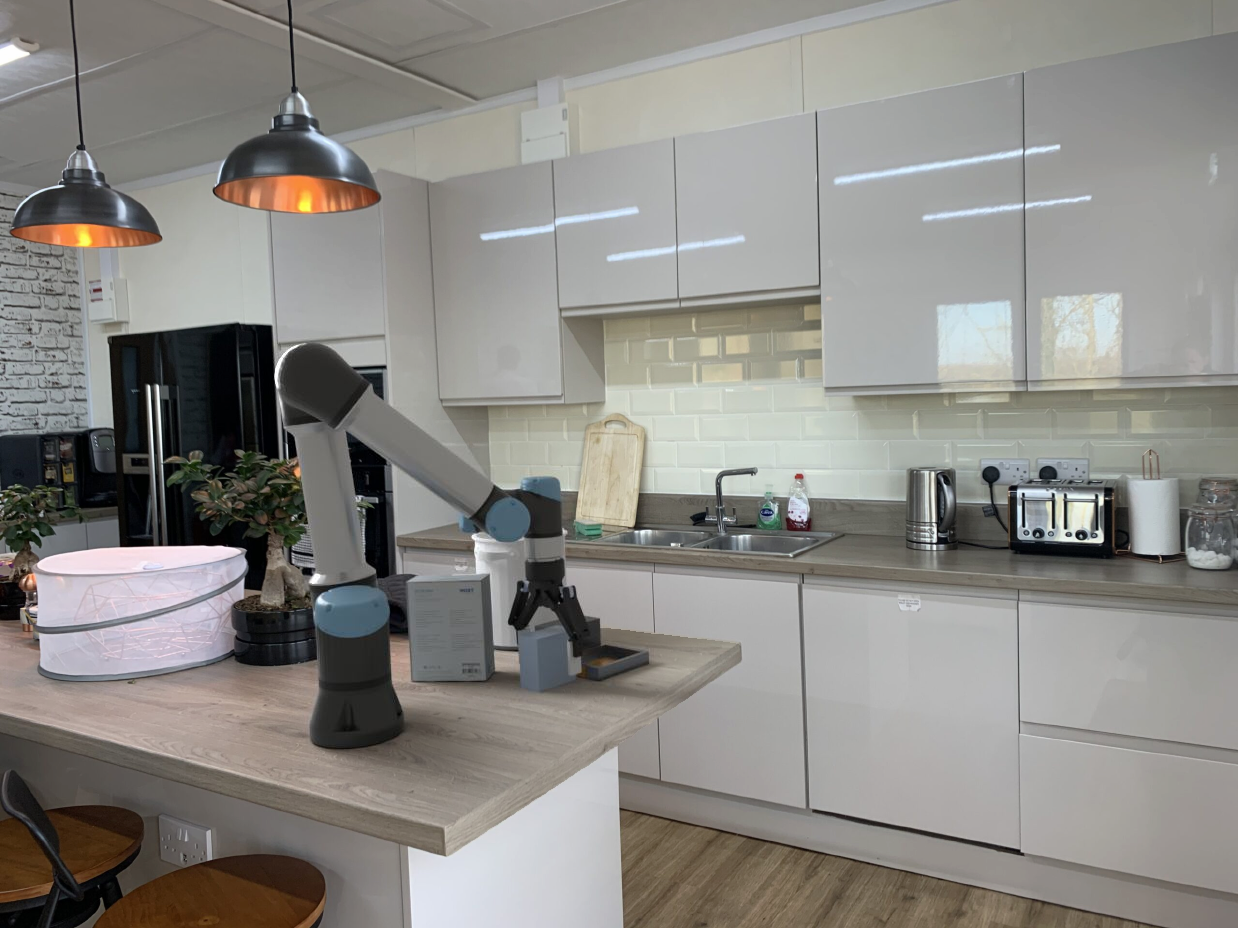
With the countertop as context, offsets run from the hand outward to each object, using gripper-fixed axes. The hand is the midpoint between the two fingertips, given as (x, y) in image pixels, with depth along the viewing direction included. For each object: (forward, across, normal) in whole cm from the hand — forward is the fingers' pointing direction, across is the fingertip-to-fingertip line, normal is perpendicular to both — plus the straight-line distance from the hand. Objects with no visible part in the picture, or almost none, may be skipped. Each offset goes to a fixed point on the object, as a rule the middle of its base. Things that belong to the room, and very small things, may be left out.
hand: (549, 667), depth 179 cm
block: (+3, 0, 0) cm, 3 cm away
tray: (+3, +3, -14) cm, 14 cm away
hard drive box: (+3, +19, +8) cm, 21 cm away
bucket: (+3, +29, -20) cm, 35 cm away
